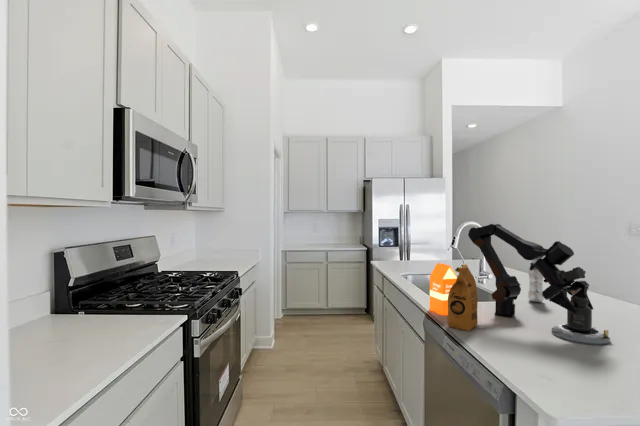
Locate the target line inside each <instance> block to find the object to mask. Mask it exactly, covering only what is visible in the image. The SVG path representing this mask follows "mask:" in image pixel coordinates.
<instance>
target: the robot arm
mask: <svg viewBox="0 0 640 426" xmlns="http://www.w3.org/2000/svg"><path fill="white" fill-rule="evenodd" d="M467 236H468V238H469V239H470V241H471V242H472V244H474V245H475V246H476V247H477V248H479V249H480V251H481V253H482V255H483V258H484V259H485V260H486V262H487V264H488V266H489V268H490V270H491V272H492V274H493V276H494V279H495V288H496V289H495V290H494V291H493V292H492V293H491V297H492V300H493V301H495V308H494V309H495V312H494V313H493V314H494V315H495V316H501V317H506V318H507V317H508V318H513V317H514V316H515V314H516V303H515V302H514V301H515V300H517V299H518V296H519V295H520V294H521V290H522V289H521V283H520V282H519V281H518V279H517V276H515V275H510V274H509V273H508V272H507V270H506V268H505V267H504V265H503V262H501V260H500V257H499V255H498V254H497V252H496V250H495V248H494V247H493V244H492V236H494V237H497V238H498V239H500V240H501V241H504V242H505V243H506V244H508V245H509V246H511V247H512V248H514V249H515V250H516V252H517V253H518V255H519V256H521V257H522V258H523V259H524V260H526V261H532V260H537V261H536V262H535V263H531V262H530V266H529V267H530V270H538V271H539V272H540V274H541V275H542V276H543V282H544V283H545V284H547V283H548V284H549V286H548V287H546V288H545V289H543V292H542V296H543V297H544V300H545V301H546V300H547V301H549V302H552V303H553V304H556V305H558V306H560V307H561V308H564V309H565V310H566V311H567V310H569V311H571V312H572V313H574V314H575V313H577V310H576V308H575V307H574V306H573V304H572V303H571V299H569V297H568V295H570V298H571V297H573V296H576V297H584V298H587V299H588V305H587V306H589V307H590V308H591V310H594V307H593V305H592V303H591V300H590V298H589V296H588V290H589V287H590V284H589V283H588V282H587V280H582V279H585V278H586V273H587V272H586V270H584V268H582V267H580V266H576V267H573V268H572V269H569V270H568V271H565V270H564V269H561V270H560V268H558V267H557V265H558V266H562V265H563V264H564V263H566V262H568V260H569V259H571V258H572V257H573V256H574V255H575V252H574V250H573V249H572V248H571V247H569V246H567V245H566V244H564V243H563V242H561V241H560V240H559V241H558V240H557V241H554V243H552V245H551V246H550V247H549V248H544V247H543V246H542V245H541V244H538V243H536V242H533V241H529V240H526V239H523V238H522V237H520V236H519V235H517V234H515V233H513V232H512V231H510V230H509V229H507V228H505V227H503V225H501V224H500V223H490V224H487V225H484V226H480V227H478V226H476V227H475V226H473V227H470V229H469V230H468V235H467ZM579 279H581V280H579ZM575 280H576V281H575Z"/></svg>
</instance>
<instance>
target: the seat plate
mask: <svg viewBox="0 0 640 426" xmlns="http://www.w3.org/2000/svg"><path fill="white" fill-rule="evenodd" d="M551 334H552V335H553V336H555V337H557V338H558V339H562V340H564V341H568V342H571V343H576V344H582V345H589V346H605V345H609V344H610V343H611V337H609V329H603V331H602V330H600V329H598V328H596V327H593V326H592V334H583V333H577V332H572V331H569V330H567V322H566V323H565V322H563V323H559V324H558V325H556V326H553V327H551Z"/></svg>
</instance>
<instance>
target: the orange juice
mask: <svg viewBox="0 0 640 426" xmlns="http://www.w3.org/2000/svg"><path fill="white" fill-rule="evenodd" d="M457 277H458V275H456V273H455V270H453V267H451V265H450V264H449V265H448V264H445V263H440V262H437V263H436V265H435V266H434V268H433V269H432V271H431V273H430V275H429V311H431V312H434V313H436V314H437V315H438V314H439V315H441V316H448V295H449V291H450V289H451V287H452V286H453V284H454V283H455V282H456V279H457Z"/></svg>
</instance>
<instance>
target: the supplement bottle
mask: <svg viewBox="0 0 640 426" xmlns="http://www.w3.org/2000/svg"><path fill="white" fill-rule="evenodd" d="M570 301H571V303H572V304H573V306H574V307H575V308H576V310H577V313H575V314H574V313H572V312H571V311H569V310H567V309H566V315H567V316H566V323H567V330H569V331H572V332H577V333H583V334H592V327H593V311H592V310H591V308H590V307H589V306H587V305H588V299H587V298H584V297H576V296H573V297H571V296H570Z"/></svg>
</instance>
